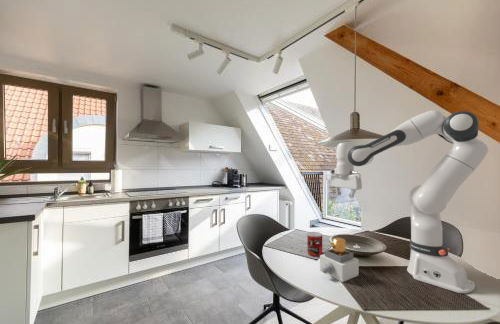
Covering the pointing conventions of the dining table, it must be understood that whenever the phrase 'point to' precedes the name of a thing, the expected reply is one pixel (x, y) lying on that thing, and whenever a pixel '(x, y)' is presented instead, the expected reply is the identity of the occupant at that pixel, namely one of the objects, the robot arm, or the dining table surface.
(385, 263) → the dining table surface
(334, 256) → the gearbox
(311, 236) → the canned food
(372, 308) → the dining table surface
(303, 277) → the dining table surface
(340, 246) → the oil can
